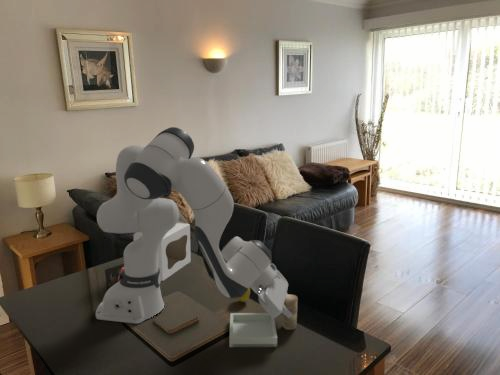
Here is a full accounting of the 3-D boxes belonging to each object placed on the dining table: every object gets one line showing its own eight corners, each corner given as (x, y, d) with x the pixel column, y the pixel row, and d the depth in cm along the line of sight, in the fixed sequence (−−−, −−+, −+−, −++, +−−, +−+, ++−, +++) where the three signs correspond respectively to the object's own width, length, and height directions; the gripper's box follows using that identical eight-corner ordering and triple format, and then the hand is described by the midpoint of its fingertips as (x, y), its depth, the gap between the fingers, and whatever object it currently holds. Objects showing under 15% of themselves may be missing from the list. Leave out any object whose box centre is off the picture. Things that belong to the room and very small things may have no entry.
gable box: (162, 281, 161) (159, 213, 155) (134, 276, 166) (131, 209, 160) (191, 261, 181) (190, 200, 175) (166, 256, 186) (164, 197, 180)
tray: (229, 347, 119) (229, 338, 119) (230, 321, 133) (230, 313, 132) (277, 347, 120) (277, 337, 119) (273, 321, 133) (273, 313, 133)
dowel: (283, 330, 128) (284, 301, 126) (281, 322, 133) (282, 294, 130) (297, 330, 128) (298, 301, 126) (295, 322, 133) (296, 294, 131)
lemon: (248, 306, 143) (248, 285, 141) (233, 304, 144) (233, 283, 142) (251, 299, 148) (251, 278, 146) (236, 297, 149) (236, 277, 147)
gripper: (264, 288, 118) (296, 323, 118) (273, 261, 138) (301, 291, 138) (248, 301, 120) (280, 334, 120) (260, 272, 140) (288, 301, 140)
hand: (292, 311), depth 129 cm, fingers closed on dowel, 4 cm apart
